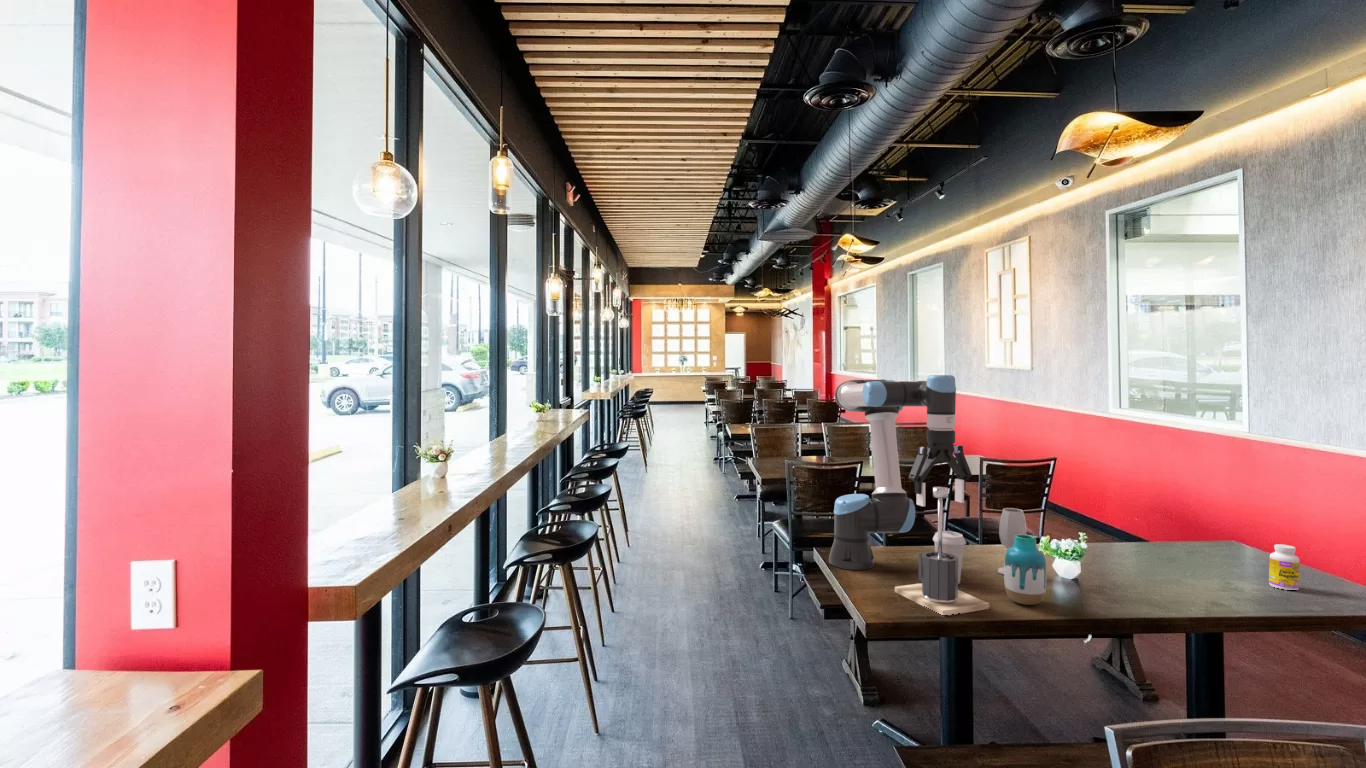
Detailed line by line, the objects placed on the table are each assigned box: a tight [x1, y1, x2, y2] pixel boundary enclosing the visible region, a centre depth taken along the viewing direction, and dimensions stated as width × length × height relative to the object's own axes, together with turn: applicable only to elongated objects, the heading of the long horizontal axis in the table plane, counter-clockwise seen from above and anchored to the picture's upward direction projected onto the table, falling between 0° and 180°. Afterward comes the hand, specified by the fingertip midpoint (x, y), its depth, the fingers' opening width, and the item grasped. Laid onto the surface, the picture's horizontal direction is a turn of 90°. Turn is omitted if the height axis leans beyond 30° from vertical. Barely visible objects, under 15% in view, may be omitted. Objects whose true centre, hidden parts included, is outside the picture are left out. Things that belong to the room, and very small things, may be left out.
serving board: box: [894, 582, 990, 616], centre depth 182 cm, size 20×16×2 cm
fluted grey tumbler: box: [918, 550, 959, 604], centre depth 181 cm, size 12×9×12 cm
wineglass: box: [997, 507, 1027, 576], centre depth 205 cm, size 9×9×21 cm
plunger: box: [930, 486, 951, 560], centre depth 179 cm, size 6×6×21 cm
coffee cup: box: [932, 530, 966, 585], centre depth 198 cm, size 10×10×15 cm
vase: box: [1003, 533, 1047, 606], centre depth 179 cm, size 11×11×19 cm
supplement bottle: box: [1268, 543, 1300, 591], centre depth 192 cm, size 7×7×13 cm
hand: (940, 503), depth 179 cm, fingers open, 13 cm apart
